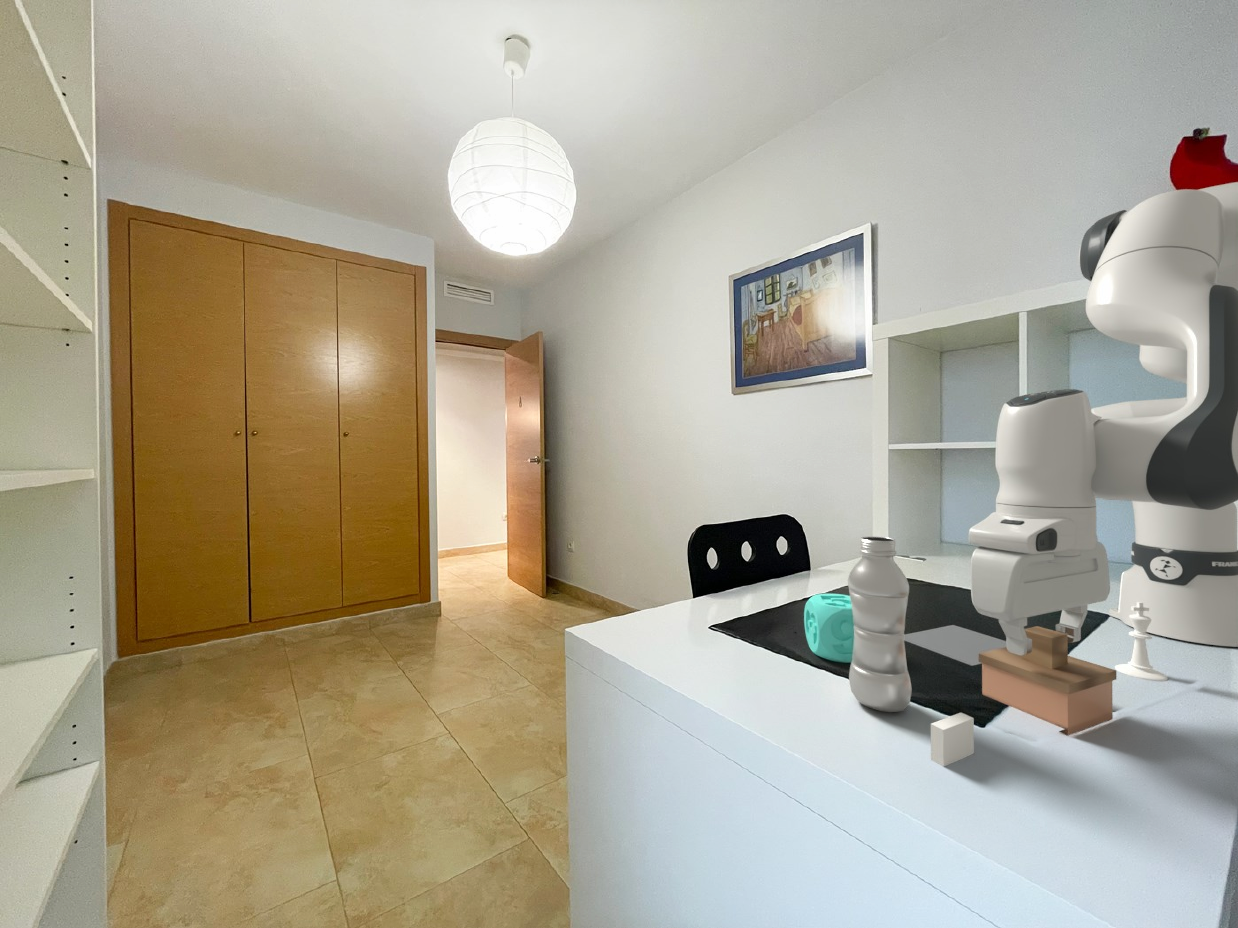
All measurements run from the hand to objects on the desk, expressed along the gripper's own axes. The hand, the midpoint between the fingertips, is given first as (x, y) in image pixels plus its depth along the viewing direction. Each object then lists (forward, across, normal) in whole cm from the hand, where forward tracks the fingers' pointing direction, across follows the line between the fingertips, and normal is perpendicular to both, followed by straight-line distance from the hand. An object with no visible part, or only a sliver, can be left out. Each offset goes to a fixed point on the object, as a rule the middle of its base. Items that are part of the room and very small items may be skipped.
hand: (1044, 646), depth 56 cm
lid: (+3, 0, 0) cm, 3 cm away
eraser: (+8, +19, +2) cm, 21 cm away
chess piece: (+8, -21, 0) cm, 22 cm away
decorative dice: (+8, +9, -22) cm, 25 cm away
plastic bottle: (+8, +17, -8) cm, 20 cm away
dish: (+7, 0, 0) cm, 7 cm away
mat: (+7, -10, -16) cm, 20 cm away
